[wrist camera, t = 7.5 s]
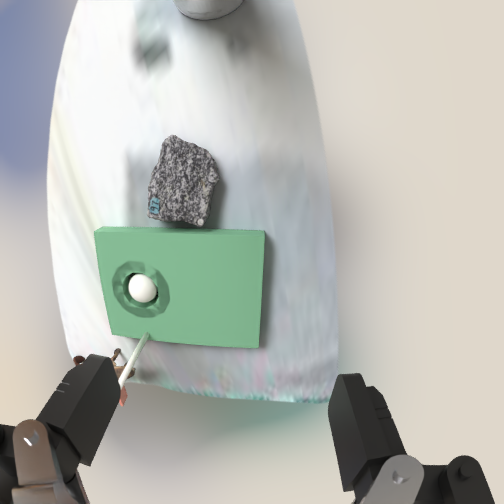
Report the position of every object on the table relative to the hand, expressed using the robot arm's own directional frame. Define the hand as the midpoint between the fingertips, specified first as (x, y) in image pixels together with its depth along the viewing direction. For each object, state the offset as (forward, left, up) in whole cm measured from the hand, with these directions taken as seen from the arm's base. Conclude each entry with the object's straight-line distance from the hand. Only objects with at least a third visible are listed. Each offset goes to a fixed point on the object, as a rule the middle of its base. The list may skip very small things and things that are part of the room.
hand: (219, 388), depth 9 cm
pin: (+18, -14, -25) cm, 34 cm away
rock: (-4, -8, -28) cm, 30 cm away
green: (+10, -9, -28) cm, 31 cm away
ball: (+10, -14, -26) cm, 31 cm away
